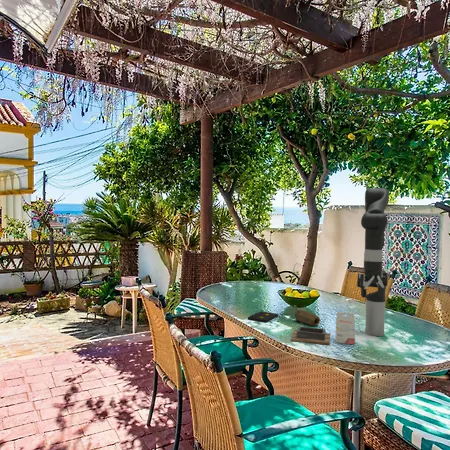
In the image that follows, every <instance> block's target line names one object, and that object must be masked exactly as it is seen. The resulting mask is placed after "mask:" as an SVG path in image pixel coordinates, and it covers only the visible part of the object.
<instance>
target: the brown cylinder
mask: <svg viewBox="0 0 450 450" xmlns="http://www.w3.org/2000/svg"><path fill="white" fill-rule="evenodd" d="M294 318H295V320H297V321H298V322H300V323H303V324H305V325H310V326H312V327H313V326H318V325H319V324H320V323H321V318H320V316H318V315H317V314H315V313H312V312H309V311H307V310H303V309H298V310H296V311H295V313H294Z"/></svg>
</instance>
